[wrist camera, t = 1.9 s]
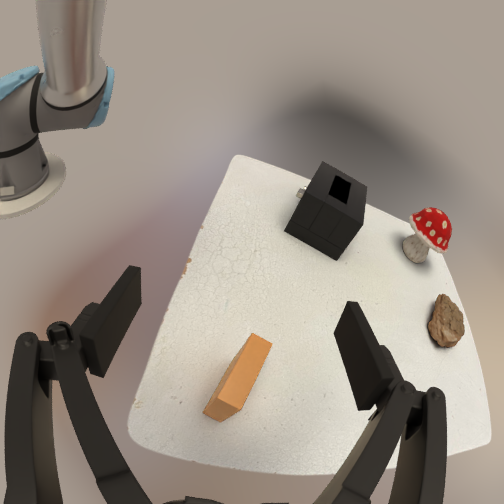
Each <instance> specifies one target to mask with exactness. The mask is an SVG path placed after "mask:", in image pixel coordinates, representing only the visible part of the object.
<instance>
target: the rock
mask: <svg viewBox="0 0 504 504" xmlns="http://www.w3.org/2000/svg"><path fill="white" fill-rule="evenodd" d="M432 317H433V318H432V320H431V321H430V322H429V325H428V328H429V333H430V334H431V336H432V337H433V338H434V340H436V341H438V344H439V345H440V346H442V347H444V346H446V347H453V346H455V345H456V344H457V342H458V341H459V340H460V339H461V336H463V335H464V332H465V330H464V325H463V314H462V312H461V311H459V308H458V307H457V306H456V304H455V303H453V302H452V301H451V300H450V298H449V297H448V296H446V295H445V294H442V295H440V294H439V296H438V297H437V300H436V302H435V310H434V312H433V314H432Z"/></svg>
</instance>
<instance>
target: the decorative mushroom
mask: <svg viewBox="0 0 504 504" xmlns="http://www.w3.org/2000/svg"><path fill="white" fill-rule="evenodd" d="M409 221H410V224H411V227H412V229H413V230H414V231H415V233H416V234H414V235H411V236H409V237H407V238H406V239H405V240H404V242H403V251H404V253H405V254H406V256H407V257H408V258H409V259H410V260H411V261H413V262H415V263H420V262H423V261H424V260H425V259H426V257H427V255H428V251H429V248H431V249H433V250H434V251H436V252H437V253H443V254H444V253H446V251H447V249H448V242H449V239H450V237H451V232H452V228H451V223H450V221H449V219H448V217H447V216H446V214H444V212H442V211H441V210H439V209H436V208H431V207H429V208H424V209H423V210H422V211H420V212H418V213H413V214H412V215H411V216H410V217H409Z"/></svg>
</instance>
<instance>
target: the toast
mask: <svg viewBox="0 0 504 504" xmlns="http://www.w3.org/2000/svg"><path fill="white" fill-rule="evenodd" d="M271 346H272V343H270V342H268V341H267V340H265V339H263V338H261V337H259V336H257V335H255V334H254V333H252V334H251V335H250V337H249V338H248V339H247V341H246V342H245V344H244V345H243V346H242V348H241V349H240V351H239V352H238V353H237V355H236V356H235V357H234V359H233V360H232V362H231V363H230V365H229V367H228V369H227V371H226V372H225V374H224V376H223V378H222V380H221V381H220V383H219V385H218V387H217V388H216V390H215V392H214V394H213V395H212V397H211V399H210V401H209V402H208V404H207V406H206V407H205V409H204V411H203V413H204V414H206V415H207V416H209V417H211V418H213V419H215V420H217V421H219V422H222V421H224V420H225V419H227V418H229V417H230V416H232V415H234V414H235V413H237V412H238V411H240V410H241V409H242V407H243V405H244V403H245V401H246V399H247V397H248V395H249V393H250V391H251V389H252V386H253V384H254V382H255V380H256V378H257V376H258V374H259V372H260V370H261V368H262V366H263V364H264V361H265V359H266V357H267V355H268V353H269V351H270V348H271Z"/></svg>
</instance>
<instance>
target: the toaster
mask: <svg viewBox="0 0 504 504" xmlns="http://www.w3.org/2000/svg"><path fill="white" fill-rule="evenodd" d="M366 194H367V186H365V185H363V184H361V183H360V182H358V181H357V180H355V179H353V178H351V177H350V176H348V175H346V174H345V173H343V172H341V171H339V170H337V169H336V168H334V167H332V166H330V165H329V164H327V163H325V162H322V163H321V165H320V167H319V168H318V170H317V172H316V173H315V175H314V177H313V178H312V180H311V182H310V184H309V185H308V187H306V186H305V187H304V189H301V188H300V189H299V191H298V193H297V195H296V196H297V197H299V198H301V200H300V202H299V204H298V206H297V207H296V209H295V211H294V213H293V215H292V217H291V219H290V221H289V223H288V225H287V226H286V228H285V230H284V231H285V232H287V233H289V234H290V235H292V236H294V237H296V238H298V239H299V240H301V241H303V242H305V243H306V244H308V245H310V246H312V247H313V248H315V249H317V250H319V251H320V252H322V253H324V254H326V255H327V256H329V257H331V258H333V259H334V260H336V261H337V260H338V258H339V257H340V256H341V254H342V253H343V252H344V250H345V249H346V248H347V246H348V245H349V244H350V242H351V241H352V239H353V238H354V237H355V235H356V234H357V232H358V231H359V230H360V228H361V227H362V226H363V222H364V213H365V204H366Z"/></svg>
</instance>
